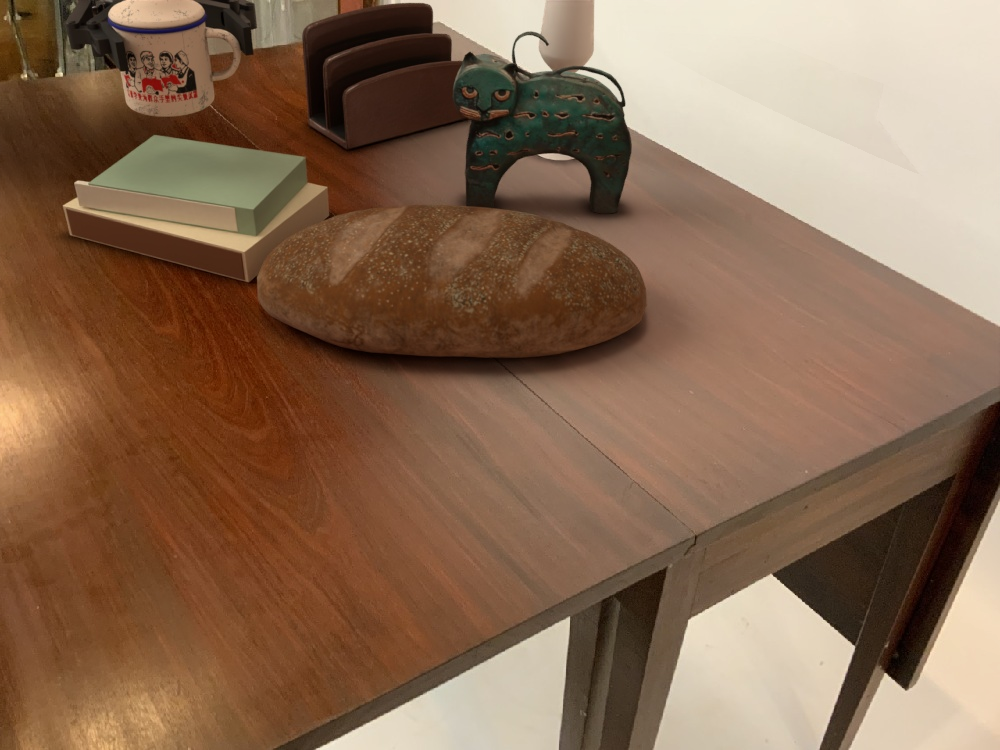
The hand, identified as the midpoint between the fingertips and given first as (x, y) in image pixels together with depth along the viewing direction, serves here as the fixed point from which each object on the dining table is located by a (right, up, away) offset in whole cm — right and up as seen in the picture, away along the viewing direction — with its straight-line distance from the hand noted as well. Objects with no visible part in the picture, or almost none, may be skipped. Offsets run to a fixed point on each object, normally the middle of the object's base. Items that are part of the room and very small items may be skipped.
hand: (187, 48), depth 92 cm
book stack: (-2, -15, +13) cm, 20 cm away
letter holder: (+15, +3, +38) cm, 41 cm away
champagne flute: (+37, -2, +34) cm, 50 cm away
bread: (+25, -24, +3) cm, 35 cm away
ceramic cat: (+34, -11, +21) cm, 41 cm away
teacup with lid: (-2, -3, +7) cm, 8 cm away
